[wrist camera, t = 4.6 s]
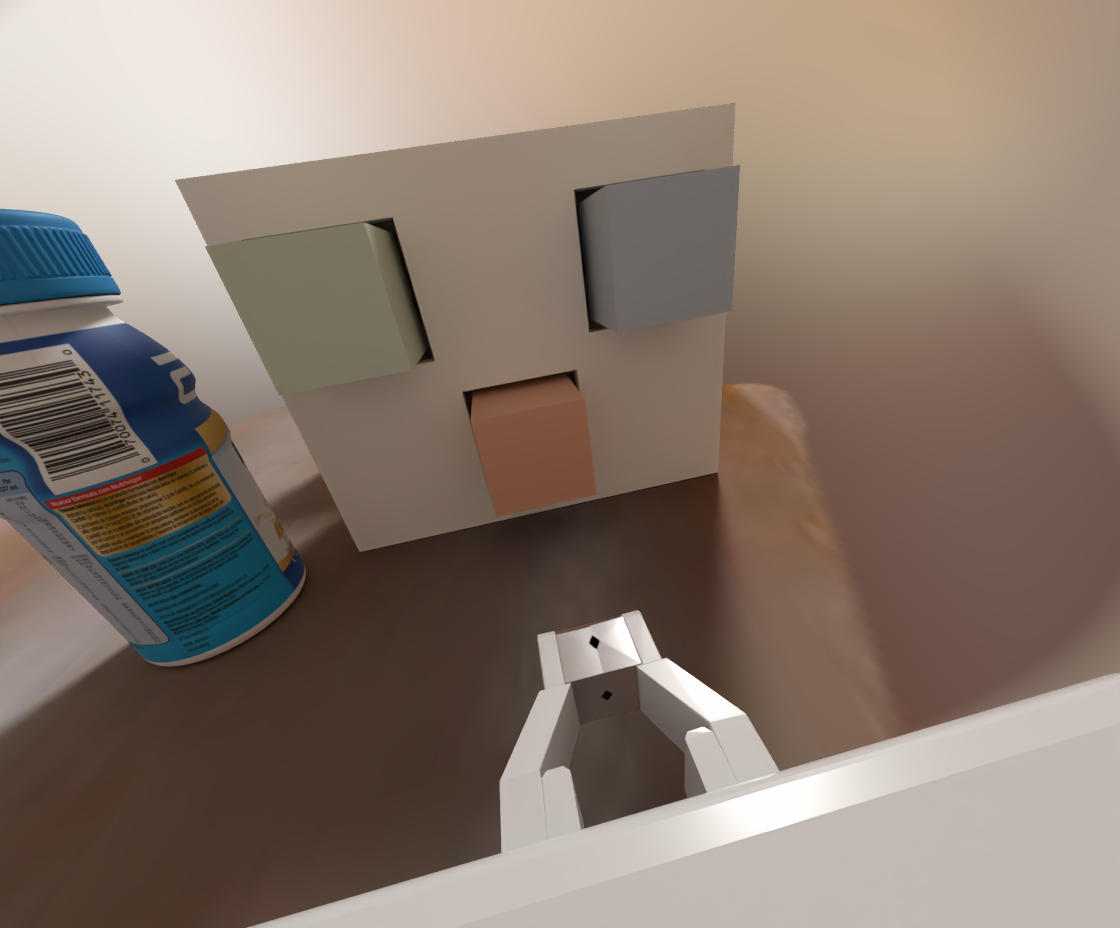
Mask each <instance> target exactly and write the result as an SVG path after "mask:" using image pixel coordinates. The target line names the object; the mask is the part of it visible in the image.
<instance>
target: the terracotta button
mask: <svg viewBox="0 0 1120 928" xmlns="http://www.w3.org/2000/svg"><path fill="white" fill-rule="evenodd" d="M471 425H472V429H473V432H474V436H475V440H476V443H477V447H478V451H479V455H480V458H481V462H482V466H483V469H484V473H485V477H486V480H487V484H488V488H489V491H490V495H491V499H492V502H493V506H494V510H495V513H496V517H499V516H504V515H508V514H513V513H517V512H522V511H526V510H531V509H535V508H540V507H544V506H549V505H553V504H558V503H562V502H567V501H571V500H576V499H580V498H585V497H589V496H594V495H597V494H596V486H595V477H594V469H593V461H592V453H591V445H590V436H589V428H588V420H587V412H586V403H585V398H584V397H583V395H582V394H581V393H580V392H579V390H578V389H577V388H576V386H575V385H574V384H573V383H572V381H571V380H570V379H569V377H568V376H567V375H566V373H565V372H562V373H557V374H552V375H547V376H542V377H536V378H531V379H526V380H521V381H516V382H511V383H505V384H500V385H495V386H490V387H485V388H479V389H474V390H473V397H472V409H471Z"/></svg>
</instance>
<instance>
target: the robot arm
mask: <svg viewBox="0 0 1120 928" xmlns="http://www.w3.org/2000/svg"><path fill="white" fill-rule="evenodd" d="M555 633H556V634H555ZM537 641H538V648H539V655H540V662H541V669H542V676H543V684H544V690H541V691H539V693H538V695H537V697H536V699H535V702H534V704H533V706H532V709H531V711H530V713H529V716H528V718H527V720H526V722H525V725H524V727H523V729H522V732H521V734H520V736H519V738H518V741H517V743H516V745H515V748H514V750H513V752H512V754H511V757H510V759H509V761H508V764H507V766H506V768H505V770H504V773H503V775H502V777H501V780H500V814H501V853H499V854H496V855H493V856H489V857H486V858H482V859H479V860H476V861H472V862H469V863H465V864H462V865H459V866H455V867H452V868H448V869H445V870H441V871H438V872H435V873H431V874H428V875H424V876H421V877H418V878H414V879H411V880H407V881H404V882H401V883H397V884H394V885H390V886H387V887H384V888H380V889H377V890H373V891H370V892H367V893H363V894H360V895H356V896H353V897H350V898H346V899H343V900H339V901H336V902H333V903H329V904H326V905H322V906H319V907H316V908H312V909H309V910H305V911H302V912H298V913H295V914H292V915H288V916H285V917H281V918H278V919H275V920H271V921H268V922H264V923H261V924H258V925H254V926H251V927H247V928H1120V673H1116V674H1110V675H1106V676H1102V677H1100V678H1096V679H1093V680H1089V681H1086V682H1083V683H1079V684H1076V685H1073V686H1069V687H1066V688H1062V689H1059V690H1055V691H1052V692H1049V693H1045V694H1042V695H1038V696H1035V697H1031V698H1028V699H1025V700H1022V701H1018V702H1014V703H1011V704H1008V705H1005V706H1001V707H997V708H994V709H991V710H987V711H984V712H980V713H977V714H974V715H970V716H967V717H963V718H960V719H956V720H953V721H950V722H946V723H943V724H939V725H936V726H933V727H929V728H926V729H923V730H919V731H916V732H912V733H909V734H905V735H902V736H898V737H895V738H892V739H888V740H885V741H881V742H878V743H875V744H871V745H868V746H864V747H861V748H858V749H854V750H851V751H847V752H844V753H841V754H837V755H834V756H830V757H827V758H823V759H820V760H817V761H813V762H810V763H806V764H803V765H800V766H796V767H793V768H789V769H786V770H783V771H779V769H778V768H777V766H776V764H775V763H774V761H773V759H772V758H771V756H770V754H769V752H768V751H767V749H766V747H765V746H764V744H763V742H762V740H761V739H760V737H759V735H758V734H757V732H756V730H755V728H754V727H753V725H752V723H751V722H750V720H749V718H748V717H747V715H746V714H745V713H744V712H743V711H741V710H740V709H738V708H737V707H736V706H734V705H733V704H731V703H730V702H728V701H727V700H726V699H724V698H723V697H721V696H720V695H719V694H717V693H716V692H714V691H713V690H712V689H710V688H709V687H707V686H706V685H705V684H703V683H702V682H700V681H699V680H697V679H696V678H695V677H693V676H692V675H690V674H689V673H688V672H686V671H685V670H683V669H682V668H681V667H679V666H678V665H676V664H675V663H673V662H672V661H671V660H669V659H668V658H664V659H662V658H661V656H660V654H659V652H658V650H657V647H656V645H655V643H654V641H653V639H652V636H651V634H650V632H649V630H648V628H647V625H646V623H645V621H644V619H643V617H642V615H641V613H640V612H639V611H638V610H637V611H633V612H629V613H625V614H622V615H621V614H619V615H615V616H611V617H608V618H604V619H600V620H596V621H592V622H589V623H587V624H583V625H578V626H574V627H569V628H565V629H560V630H556V631H552V632H547V633H543V634H539V635H537ZM636 709H640V710H641V711H642V712H643V713H644V714H645V715H646V716H647V717H648V718H649V719H650V720H651V721H652V722H653V723H654V724H655V725H656V726H657V727H658V728H659V729H660V730H661V731H662V732H663V733H664V734H665V735H666V736H667V737H668V738H669V739H670V740H671V741H672V742H673V743H674V744H675V745H676V746H677V747H678V748H679V749H680V750H681V751H682V752H683V753H684V754H685V793H686V795H687V799H684V800H680V801H677V802H673V803H670V804H666V805H663V806H660V807H656V808H653V809H649V810H646V811H643V812H639V813H636V814H632V815H629V816H625V817H622V818H619V819H615V820H612V821H608V822H605V823H602V824H598V825H595V826H591V827H588V828H585V829H584V823H583V819H582V815H581V811H580V807H579V803H578V799H577V795H576V791H575V787H574V783H573V779H572V776H571V772H570V770H569V767H570V763H571V760H572V756H573V752H574V749H575V745H576V741H577V738H578V734H579V730H580V724H584V723H587V722H590V721H594V720H597V719H600V718H604V717H607V716H610V715H615V714H619V713H623V712H627V711H631V710H636Z"/></svg>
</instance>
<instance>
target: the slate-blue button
mask: <svg viewBox="0 0 1120 928" xmlns="http://www.w3.org/2000/svg"><path fill="white" fill-rule="evenodd" d="M739 173H740V165H737V166H730V167H723V168H717V169H710V170H704V171H697V172H691V173H684V174H677V175H671V176H664V177H658V178H651V179H645V180H638V181H632V182H625V183H618V184H612V185H606V186H605V187H603V188H602V189H600V190H598V191H597V192H595V193H594V194H592V195H591V196H589V197H588V198H586V199H585V200H583V201H582V202H580V203H579V204H577V205H576V206H577V215H578V225H579V234H580V243H581V253H582V262H583V271H584V281H585V290H586V300H587V309H588V318H589V319H591V320H593V321H595V322H597V323H599V324H601V325H603V326H605V327H607V328H609V329H611V330H613V331H615V332H623V331H628V330H633V329H639V328H644V327H649V326H655V325H660V324H666V323H671V322H676V321H682V320H687V319H692V318H698V317H703V316H709V315H714V314H719V313H725V312H730V311H732V301H733V283H734V265H735V247H736V228H737V210H738V192H739Z"/></svg>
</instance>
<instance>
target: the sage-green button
mask: <svg viewBox="0 0 1120 928" xmlns="http://www.w3.org/2000/svg"><path fill="white" fill-rule="evenodd" d="M206 249H207V251H208V253H209V255H210V257H211V259H212V261H213V263H214V266H215V268H216V269H217V272H218V274H219V276H220V277H221V280H222V281H223V283H224V286H225V287H226V289H227V291H228V294H229V295H230V298H231V300H232V302H233V304H234V306H235V307H236V309H237V311H238V314H239V316H240V318H241V320H242V322H243V323H244V326H245V328H246V330H247V332H248V334H249V336H250V338H251V340H252V342H253V344H254V346H255V348H256V350H257V352H258V354H259V356H260V358H261V359H262V362H263V364H264V366H265V368H266V370H267V371H268V374H269V375H270V378H271V380H272V382H273V384H274V386H275V388H276V390H277V392H278V394H279V395H284V394H290V393H295V392H300V391H306V390H311V389H316V388H322V387H327V386H333V385H338V384H343V383H349V382H354V381H359V380H365V379H370V378H375V377H381V376H386V375H392V374H397V373H402V372H408V371H412V370H413V369H414V367H415V366H416V364H417V363H418V361H419V360H420V358H421V357H422V355H423V354H424V353H425V351H426V350H427V348H428V346H427V343H426V340H425V336H424V333H423V330H422V326H421V323H420V320H419V316H418V313H417V310H416V306H415V303H414V299H413V296H412V293H411V289H410V286H409V283H408V279H407V276H406V273H405V269H404V266H403V263H402V259H401V256H400V252H399V249H398V246H397V242H396V239H395V236H394V233H391V232H388V231H386V230H383V229H380V228H378V227H375V226H372V225H370V224H367V223H364V222H362V223H356V224H349V225H343V226H336V227H330V228H323V229H316V230H310V231H303V232H297V233H290V234H284V235H277V236H271V237H264V238H257V239H251V240H244V241H238V242H231V243H225V244H218V245H211V246H206Z"/></svg>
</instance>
